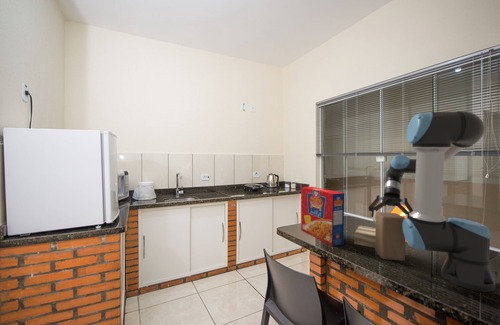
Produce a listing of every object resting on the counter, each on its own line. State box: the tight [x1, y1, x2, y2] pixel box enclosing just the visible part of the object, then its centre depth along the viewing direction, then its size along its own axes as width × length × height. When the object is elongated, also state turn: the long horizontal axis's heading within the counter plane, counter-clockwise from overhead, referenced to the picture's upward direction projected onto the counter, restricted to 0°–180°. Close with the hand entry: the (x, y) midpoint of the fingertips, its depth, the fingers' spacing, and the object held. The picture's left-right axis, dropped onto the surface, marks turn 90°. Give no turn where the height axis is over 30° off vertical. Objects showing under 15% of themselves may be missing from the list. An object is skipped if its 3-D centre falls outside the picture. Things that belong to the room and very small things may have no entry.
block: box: [374, 211, 406, 262], centre depth 109 cm, size 10×10×20 cm
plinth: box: [353, 225, 376, 249], centre depth 127 cm, size 16×14×6 cm
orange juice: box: [390, 204, 408, 243], centre depth 132 cm, size 8×9×20 cm
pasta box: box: [300, 186, 345, 247], centre depth 135 cm, size 28×8×28 cm, turn 22°
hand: (389, 224), depth 112 cm, fingers open, 13 cm apart
